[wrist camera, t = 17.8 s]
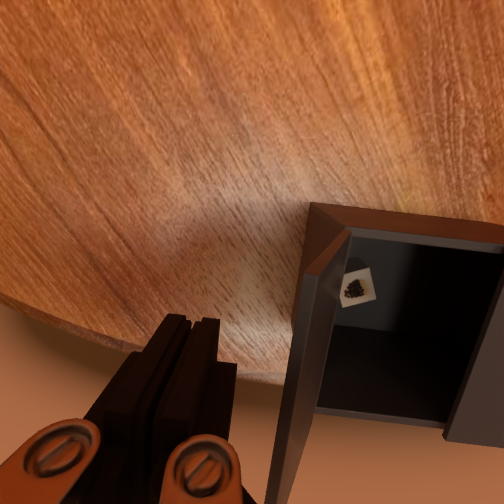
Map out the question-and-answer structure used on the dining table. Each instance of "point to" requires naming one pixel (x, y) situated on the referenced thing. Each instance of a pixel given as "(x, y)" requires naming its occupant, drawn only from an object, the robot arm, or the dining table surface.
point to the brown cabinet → (416, 322)
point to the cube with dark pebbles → (356, 284)
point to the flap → (306, 364)
